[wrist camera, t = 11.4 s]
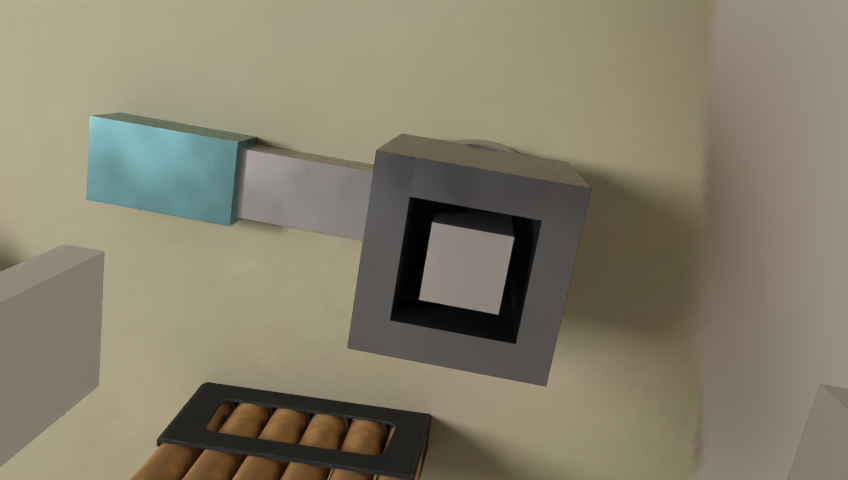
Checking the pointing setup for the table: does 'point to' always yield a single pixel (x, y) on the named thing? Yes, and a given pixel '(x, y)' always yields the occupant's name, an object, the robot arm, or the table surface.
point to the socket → (521, 302)
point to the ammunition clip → (286, 439)
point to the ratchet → (294, 198)
